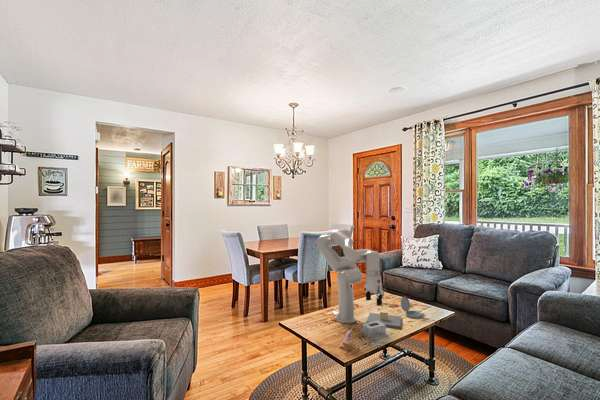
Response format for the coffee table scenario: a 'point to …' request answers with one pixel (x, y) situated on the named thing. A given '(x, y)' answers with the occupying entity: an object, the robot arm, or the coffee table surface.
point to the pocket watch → (405, 306)
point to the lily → (348, 336)
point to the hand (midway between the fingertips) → (373, 302)
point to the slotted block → (374, 329)
